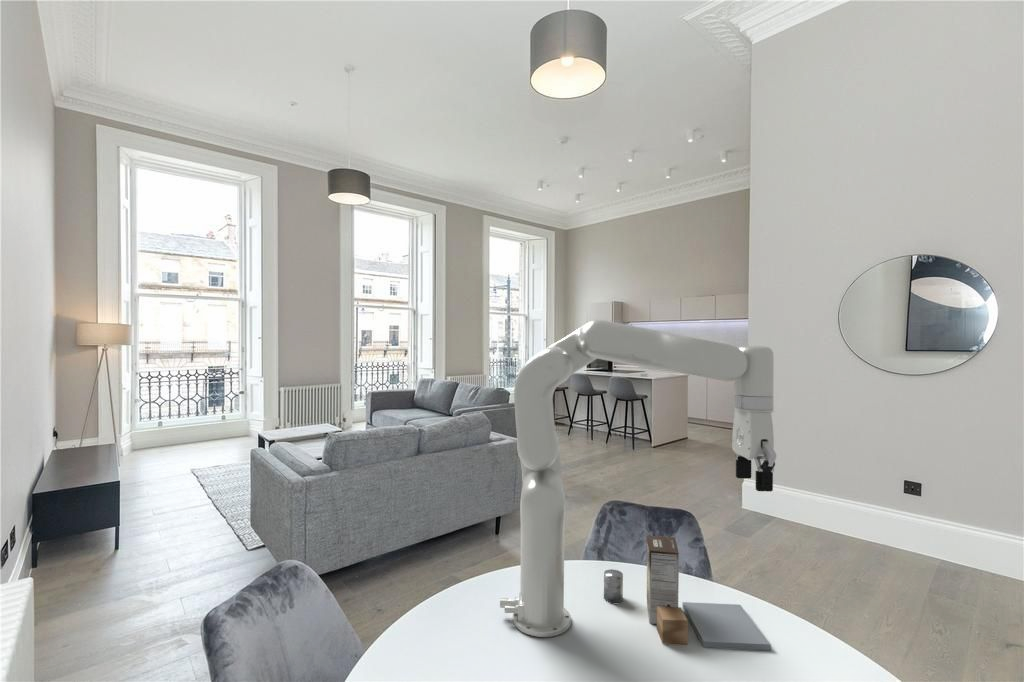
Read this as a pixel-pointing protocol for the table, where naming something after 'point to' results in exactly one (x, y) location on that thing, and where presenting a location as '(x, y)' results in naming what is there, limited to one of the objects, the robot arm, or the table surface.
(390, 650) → the table surface
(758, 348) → the robot arm
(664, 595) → the coffee box
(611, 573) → the metal canister
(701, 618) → the slate board
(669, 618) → the walnut block
